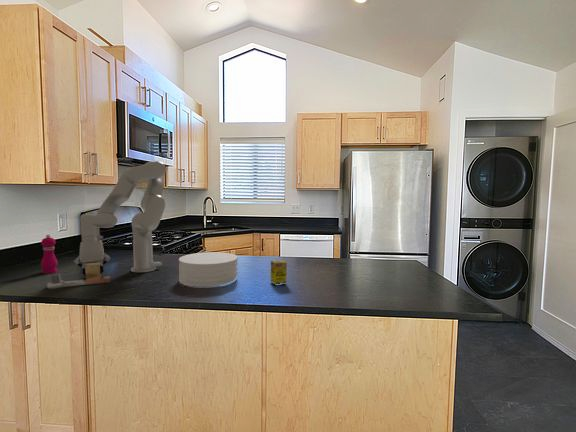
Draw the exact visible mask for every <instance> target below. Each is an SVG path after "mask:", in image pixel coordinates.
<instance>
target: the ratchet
mask: <svg viewBox="0 0 576 432" xmlns="http://www.w3.org/2000/svg"><path fill="white" fill-rule="evenodd" d="M105 283H111V276H110V275H106V276H100V277H94V278H86V277H85V278H84V279H77V280H67V281H66V280H62V279H61V273H52V275H51V281H49V282H47V286H46V287H47V289H50V290H55V289H61V288H68V287H75V286H84V285H85V286H86V285H95V284H105Z"/></svg>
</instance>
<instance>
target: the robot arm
mask: <svg viewBox="0 0 576 432" xmlns="http://www.w3.org/2000/svg"><path fill="white" fill-rule="evenodd" d="M166 171H167V167H166V165H165V163H164V162H162V161H158V160H155V161H154V160H153V161H148V162H146V163H144V164H141V165H137V166H132V167H126V168H125V169H124V170H123V171H122V172H121V175H120V176H119V179H118V180H117V182H116V184H115V185H114V187H113V188H112V190H111V192H110V193H109V194H108V196H107V197H106V199H105V200H104V201H103V202H102V204H101V205H100V207H99V209H98V210H97V212H96V213H83V214H81V215H80V220H79V221H80V232H81V234H80V235H81V242H80V244H79V255H78V256H77V257H76V258H75V259H74V260H73V263H74V264H75V265H77V266H78V267H80V268H81V269H82V275H84V277H86V271H85V265H86V264H88V263H98V262H99V263H100V274H101V275H102V274H103V273H104V272H105V271H104V266H105V265H106V264H107V263H108V261H110V260H111V257H110V255H108V254H107V253H106V252H105V251H104V250H105V249H104V243H103V240H101V239H104V235H101V233H100V228H101V229H102V228H105V229H106V228H107V229H108V228H114V227H115V226H116V225H117V224H118V217H117V215H115V213H116V212H117V210H118V208H120V207H121V206H122V205H124V203H126V202H127V201H128V200H129V199H130V197H131V195H132V194H133V191H134V190H135V188H136V186H137V185H138V184H141V183H145V182H147V185H146V188H145V190H144V193H143V196H142V199H141V200H140V207H141V209H142V210H143V212H138V213H136V214H134V215H133V216H132V219H131V229H132V230H131V231H132V239H133V240H132V241H133V242H132V243H133V244H132V245H133V246H132V247H133V250H132V251H133V252H132V253H133V267H131V268H130V271H131V272H132V273H138V274H139V273H149V272H153V271H155V270H156V269H157V267H159V266H163V264H162V261H154V259H153V255H154V254H153V233H152V232H153V231H155V230H156V229H157V228H158V226H159V224H160V222H161V219H162V217H163V214H164V211H165V209H166V201H165V198H164V197H163V196H162V195H163V191H164V188H165V181H164V178H163V176H164V175H165V174H166ZM104 259H105V260H104ZM79 261H80V262H79Z"/></svg>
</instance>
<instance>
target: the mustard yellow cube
mask: <svg viewBox="0 0 576 432" xmlns="http://www.w3.org/2000/svg"><path fill="white" fill-rule="evenodd" d="M85 271H86V276H85V279H86V278H94V277H102V274H100V263H99V262H98V261H97V262H88V263H86V265H85Z"/></svg>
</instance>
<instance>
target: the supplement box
mask: <svg viewBox="0 0 576 432" xmlns="http://www.w3.org/2000/svg"><path fill="white" fill-rule="evenodd" d="M287 266H288V264H287V261H285V260H270V280H269V281H271V282H273V283H274V284H280V283H286V284H287V268H288V267H287Z"/></svg>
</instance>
